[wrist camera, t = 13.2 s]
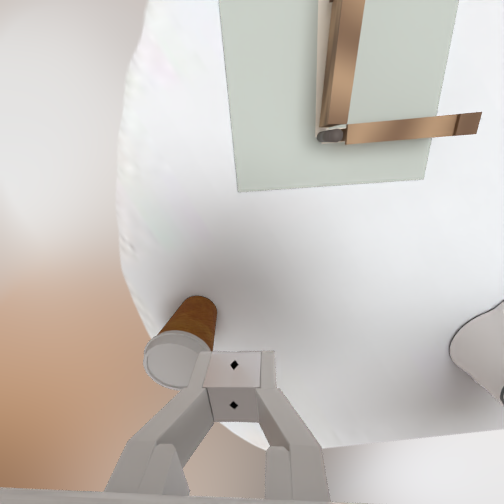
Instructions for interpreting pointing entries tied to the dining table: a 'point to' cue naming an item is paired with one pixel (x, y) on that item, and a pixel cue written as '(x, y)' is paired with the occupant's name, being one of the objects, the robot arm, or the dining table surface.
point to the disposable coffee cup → (181, 343)
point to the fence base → (404, 129)
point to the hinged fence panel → (341, 61)
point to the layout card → (311, 89)
